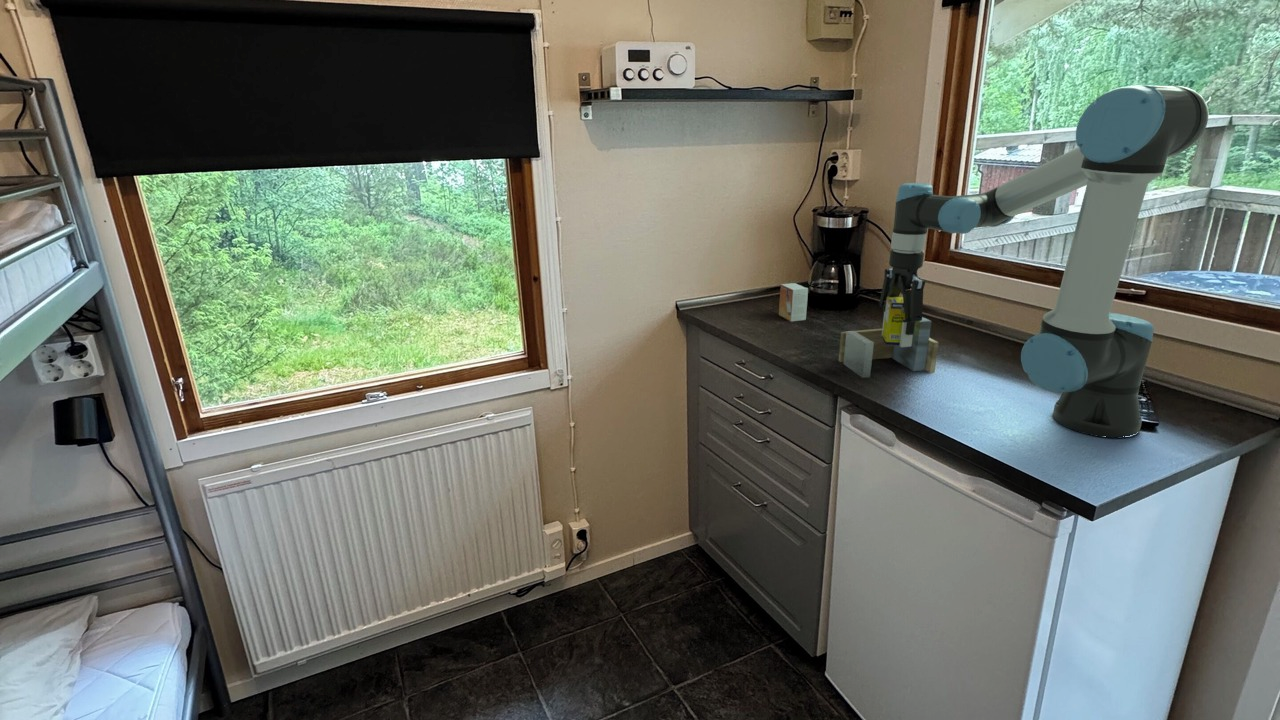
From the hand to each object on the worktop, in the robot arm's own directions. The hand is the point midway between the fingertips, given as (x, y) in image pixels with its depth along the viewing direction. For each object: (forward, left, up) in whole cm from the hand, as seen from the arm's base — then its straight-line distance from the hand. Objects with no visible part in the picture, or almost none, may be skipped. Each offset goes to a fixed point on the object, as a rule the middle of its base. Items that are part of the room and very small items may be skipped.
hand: (896, 340), depth 165 cm
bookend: (+2, +9, -8) cm, 12 cm away
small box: (+50, +5, -8) cm, 51 cm away
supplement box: (0, 0, 0) cm, 0 cm away
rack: (+3, 0, -8) cm, 8 cm away
